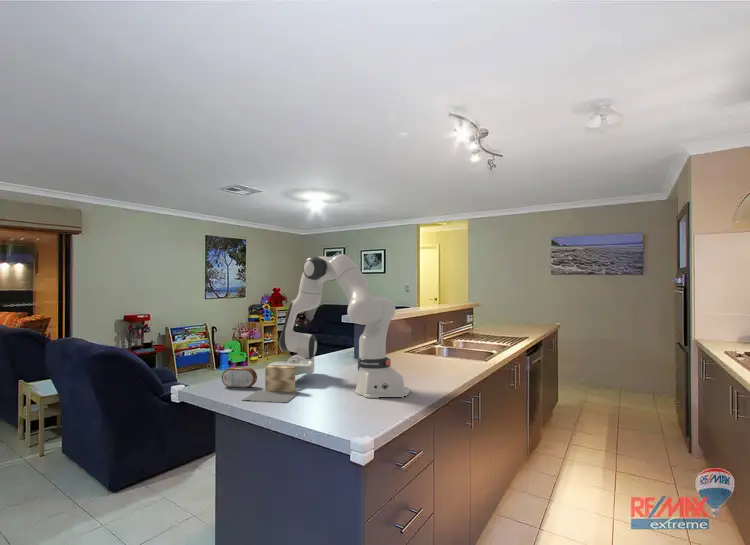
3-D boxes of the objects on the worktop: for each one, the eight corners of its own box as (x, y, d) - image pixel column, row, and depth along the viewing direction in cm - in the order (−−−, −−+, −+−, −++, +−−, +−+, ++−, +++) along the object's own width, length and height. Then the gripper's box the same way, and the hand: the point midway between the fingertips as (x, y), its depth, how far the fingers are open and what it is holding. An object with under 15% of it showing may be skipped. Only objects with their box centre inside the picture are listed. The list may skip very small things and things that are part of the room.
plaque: (295, 390, 155) (295, 366, 155) (292, 392, 152) (293, 368, 153) (268, 389, 157) (268, 365, 157) (265, 391, 154) (265, 367, 154)
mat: (299, 393, 151) (299, 392, 151) (287, 403, 138) (287, 402, 138) (257, 391, 154) (257, 390, 154) (241, 400, 141) (241, 399, 141)
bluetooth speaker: (257, 386, 161) (257, 367, 161) (254, 388, 158) (254, 368, 158) (224, 385, 163) (224, 366, 163) (220, 387, 160) (220, 368, 160)
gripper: (275, 357, 175) (262, 363, 161) (317, 358, 171) (307, 364, 158) (275, 371, 174) (261, 378, 161) (317, 372, 171) (307, 379, 157)
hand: (284, 371), depth 159 cm, fingers closed
